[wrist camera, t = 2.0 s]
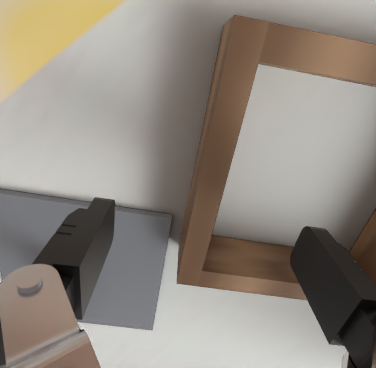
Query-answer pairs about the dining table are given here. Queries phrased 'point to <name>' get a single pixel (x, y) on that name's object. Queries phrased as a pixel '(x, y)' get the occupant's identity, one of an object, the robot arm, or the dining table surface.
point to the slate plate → (114, 264)
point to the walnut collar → (225, 146)
